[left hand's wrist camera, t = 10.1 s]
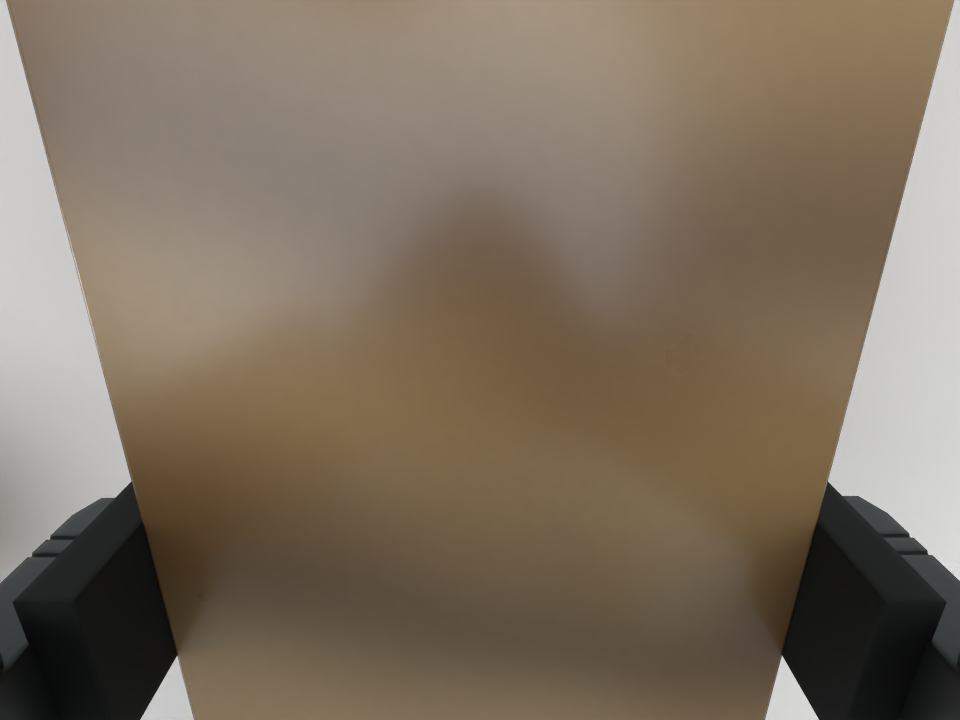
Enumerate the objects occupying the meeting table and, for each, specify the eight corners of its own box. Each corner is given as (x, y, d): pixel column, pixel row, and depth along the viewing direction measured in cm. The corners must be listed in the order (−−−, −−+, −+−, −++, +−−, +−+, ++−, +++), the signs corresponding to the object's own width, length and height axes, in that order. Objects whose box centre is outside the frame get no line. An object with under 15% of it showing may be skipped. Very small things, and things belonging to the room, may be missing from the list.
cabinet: (228, -359, 12) (-429, -1640, 3) (731, -358, 12) (1389, -1632, 3) (323, 465, 19) (196, 737, 10) (635, 465, 19) (762, 737, 10)
